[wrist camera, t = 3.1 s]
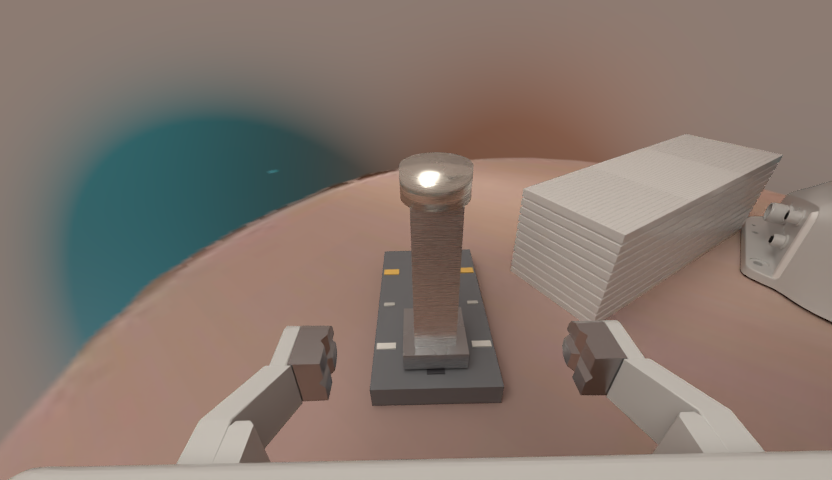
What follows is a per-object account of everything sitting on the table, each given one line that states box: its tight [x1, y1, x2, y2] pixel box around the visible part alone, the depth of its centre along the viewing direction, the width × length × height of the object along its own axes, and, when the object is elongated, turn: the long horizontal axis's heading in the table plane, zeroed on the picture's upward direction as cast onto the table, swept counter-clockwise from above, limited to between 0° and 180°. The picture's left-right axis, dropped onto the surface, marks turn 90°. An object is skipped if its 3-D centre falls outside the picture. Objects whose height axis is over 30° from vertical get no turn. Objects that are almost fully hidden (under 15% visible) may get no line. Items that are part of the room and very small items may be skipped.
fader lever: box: [399, 153, 473, 369], centre depth 25 cm, size 5×5×16 cm
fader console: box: [370, 250, 504, 406], centre depth 34 cm, size 18×10×2 cm, turn 1°
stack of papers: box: [510, 134, 783, 321], centre depth 41 cm, size 32×11×11 cm, turn 122°
